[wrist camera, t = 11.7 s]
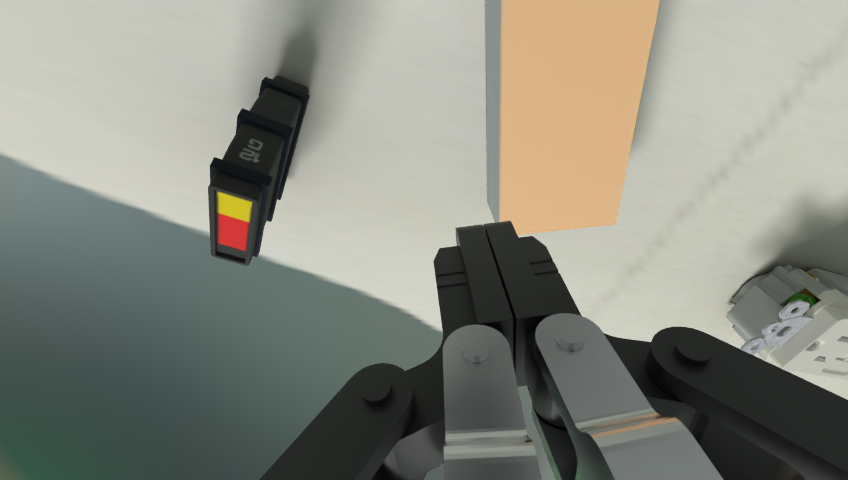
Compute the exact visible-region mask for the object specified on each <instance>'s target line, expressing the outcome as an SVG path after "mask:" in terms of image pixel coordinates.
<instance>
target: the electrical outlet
mask: <svg viewBox="0 0 848 480" xmlns="http://www.w3.org/2000/svg"><path fill="white" fill-rule="evenodd" d="M732 301H733V302H734V303H735V304H736V305H735V306H734V307H733V308H732V309H731V310H730V311H729V312H728V314H727V318H728V319H729V320H730V321H731V322H732V323H733V324H734V325H733V329H734V330H735V331H736V332H737V333H738V334H739V335H740V336H741V337H742V338H743V339H744V340H745V341H746V343H745V344H744V345H743V346H741V350H743V351H745V352H747V353H749V354H751V355H753V354H756V353H757V354H758V355H759V356H760V357H761V358H762V360H764V361H766V362H768V363H772V364H778V365H779V366H780V367H781V368H782V369H783V370H788V371H795V372H801V373H807V374H814V375H820V376H827V377H833V378H839V379H846V380H848V277H847V276H843V275H840V274H836V273H832V272H828V271H825V270H821V269H817V268H813V269H811V270H809V271H807V272H804V271H803V270H802V269H799V268H797V267H795V268H793V267H791V266H790V265H787V266H785V267H782V266H781V265H780V266H777V267H776V268H775V269H774V270H773V272H772V271H771V272H769V273H767V274H764V275H761V276H757V277H755V278H753V279H752V280H750V281H749V282H747V283H746V284H745V285H744V286H743V287H742V288H741V289H740V291H739V292H738V293H737V294H736V295H735V296H734V298H733V299H732Z"/></svg>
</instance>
